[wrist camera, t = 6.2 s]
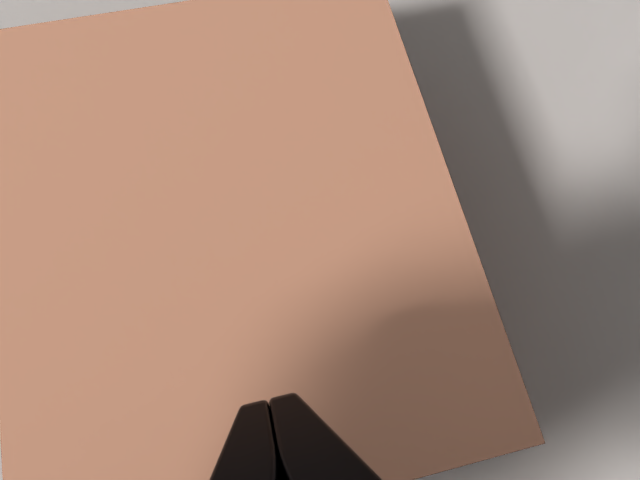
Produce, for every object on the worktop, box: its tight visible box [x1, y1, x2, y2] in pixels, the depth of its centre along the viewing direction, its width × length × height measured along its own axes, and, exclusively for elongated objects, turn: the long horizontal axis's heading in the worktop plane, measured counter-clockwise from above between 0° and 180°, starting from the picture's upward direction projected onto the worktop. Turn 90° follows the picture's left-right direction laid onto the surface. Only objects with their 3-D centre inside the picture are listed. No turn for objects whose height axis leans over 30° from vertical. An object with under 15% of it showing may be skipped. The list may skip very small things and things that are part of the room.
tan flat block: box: [0, 0, 545, 480], centre depth 14 cm, size 4×10×12 cm
